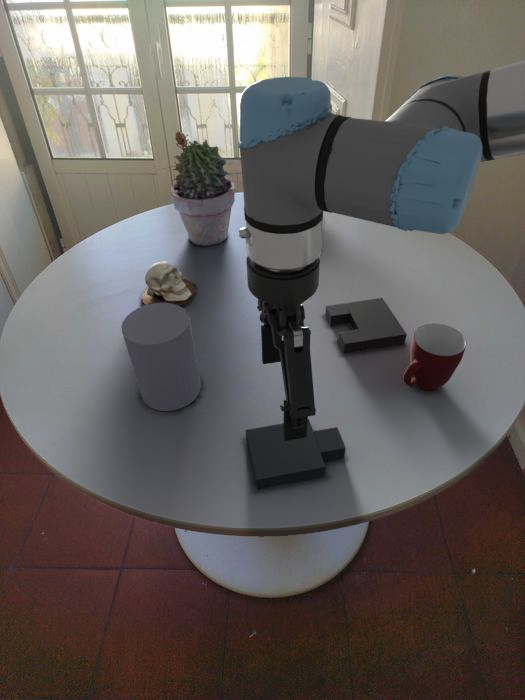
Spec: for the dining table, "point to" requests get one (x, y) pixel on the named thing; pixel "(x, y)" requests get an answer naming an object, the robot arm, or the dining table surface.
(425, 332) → the mug
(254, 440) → the pad
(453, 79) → the robot arm
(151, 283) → the skull
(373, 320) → the base pad
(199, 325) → the dining table surface
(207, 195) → the potted plant
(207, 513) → the dining table surface
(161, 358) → the container
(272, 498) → the dining table surface
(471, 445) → the dining table surface
